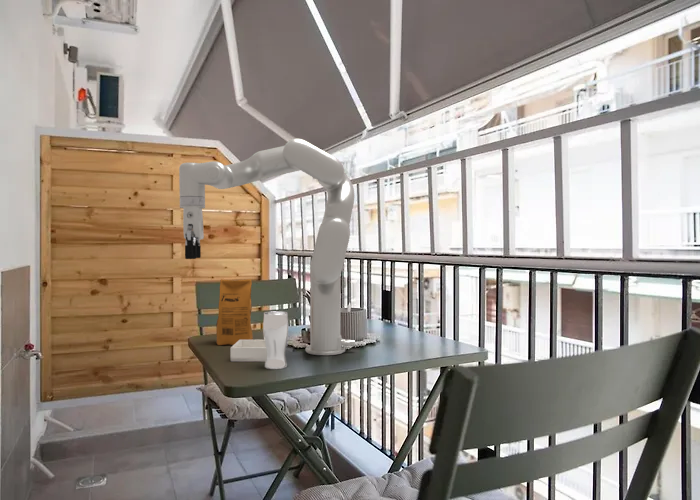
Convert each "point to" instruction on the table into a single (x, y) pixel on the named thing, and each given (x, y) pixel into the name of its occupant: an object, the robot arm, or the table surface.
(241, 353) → the tray
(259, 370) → the table surface
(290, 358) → the table surface
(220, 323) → the coffee package
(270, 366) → the beer glass
